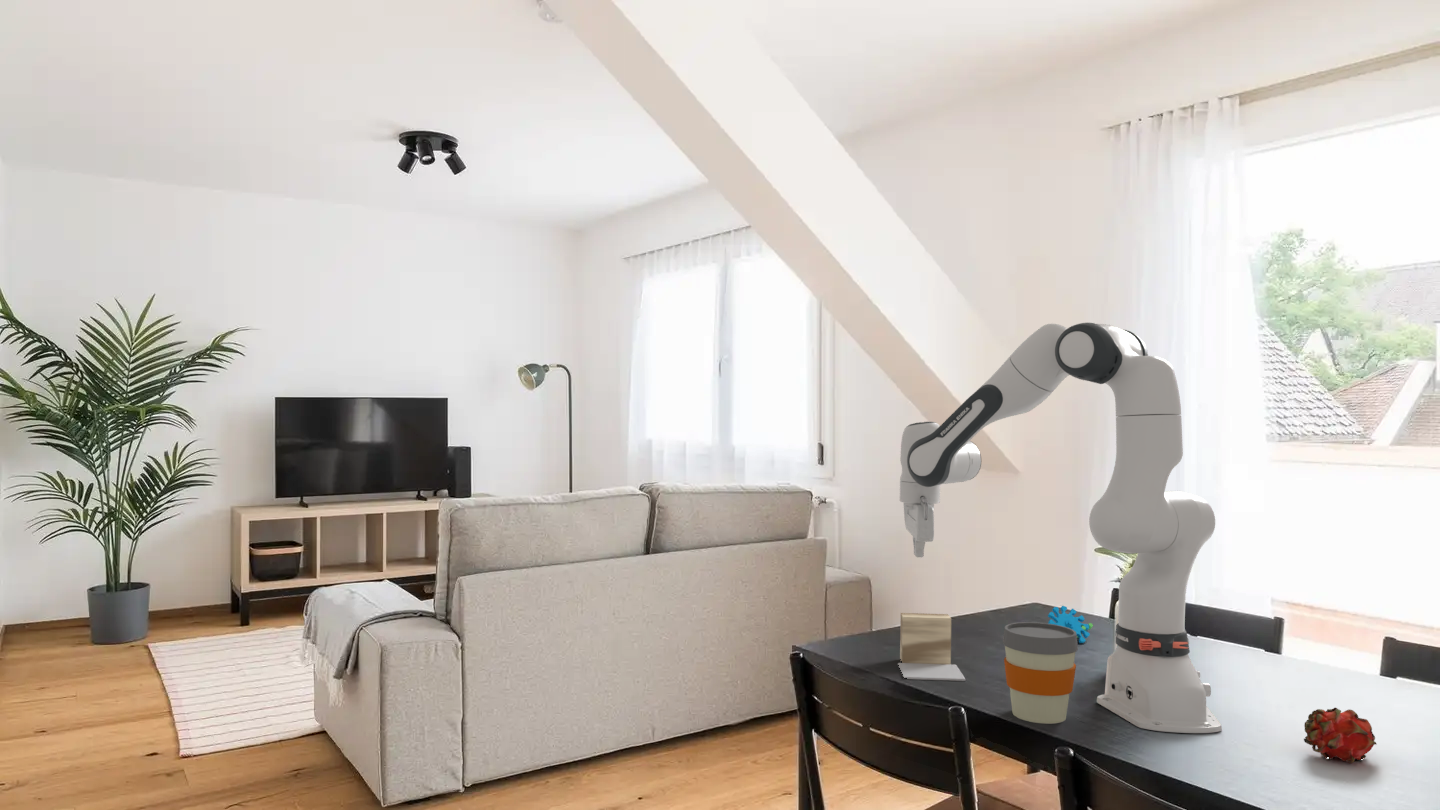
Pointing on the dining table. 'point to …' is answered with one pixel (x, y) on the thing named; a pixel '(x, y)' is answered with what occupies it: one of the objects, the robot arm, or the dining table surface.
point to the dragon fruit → (1339, 734)
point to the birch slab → (925, 638)
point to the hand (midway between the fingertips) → (918, 556)
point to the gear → (1070, 622)
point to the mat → (931, 671)
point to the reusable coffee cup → (1039, 670)
